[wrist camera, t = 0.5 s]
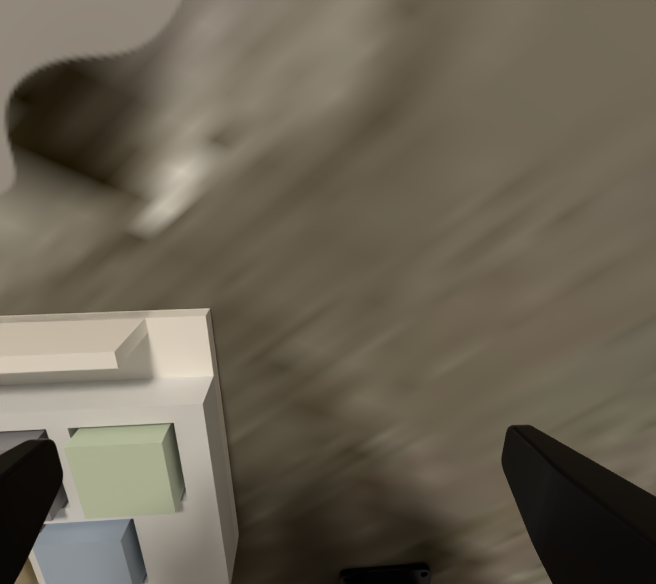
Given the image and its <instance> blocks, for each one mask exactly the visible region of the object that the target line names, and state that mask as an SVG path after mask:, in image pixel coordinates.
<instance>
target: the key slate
mask: <svg viewBox="0 0 656 584" xmlns="http://www.w3.org/2000/svg"><path fill="white" fill-rule="evenodd" d="M33 551H34V554H35V556H36V559H37V562H38V564H39V567H40V570H41V572H42V575H43V577H44V580H45V583H46V584H142V581H143V579H144V576H145V573H146V568H145V563H144V559H143V555H142V551H141V547H140V543H139V539H138V535H137V531H136V527H135V523H134V519H118V520H102V521H86V522H70V523H53V524H46V526H45V527H44V529H43V530H42V532H41V533H40V535H39V536H38V537H37V539H36V542H35V544H34V546H33Z"/></svg>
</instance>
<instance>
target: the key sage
mask: <svg viewBox="0 0 656 584" xmlns="http://www.w3.org/2000/svg"><path fill="white" fill-rule="evenodd" d="M64 450H65V454H66V457H67V460H68V463H69V467H70V470H71V473H72V477H73V480H74V483H75V486H76V490H77V493H78V496H79V500H80V503H81V506H82V509H83V513H84V516H85V519H93V518H109V517H125V516H142V515H158V514H174V513H176V511H177V508H178V505H179V502H180V499H181V497H182V494H183V491H184V488H185V482H184V476H183V471H182V465H181V460H180V454H179V449H178V443H177V438H176V432H175V427H174V423H160V424H140V425H120V426H100V427H80V428H79V429H78V430H77V432H76V433H75V434H74V435H73V437H72V438H71V439H70V440H69V442H68V443H67V444H66V445H65V447H64Z"/></svg>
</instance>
